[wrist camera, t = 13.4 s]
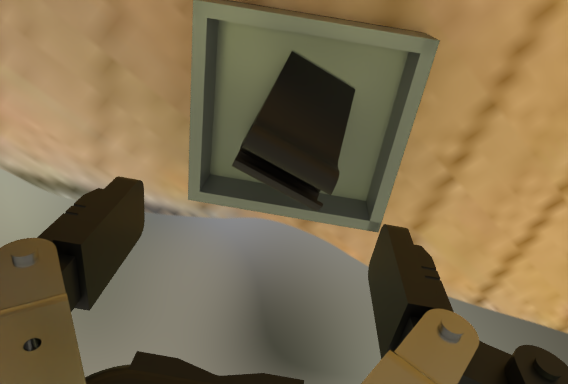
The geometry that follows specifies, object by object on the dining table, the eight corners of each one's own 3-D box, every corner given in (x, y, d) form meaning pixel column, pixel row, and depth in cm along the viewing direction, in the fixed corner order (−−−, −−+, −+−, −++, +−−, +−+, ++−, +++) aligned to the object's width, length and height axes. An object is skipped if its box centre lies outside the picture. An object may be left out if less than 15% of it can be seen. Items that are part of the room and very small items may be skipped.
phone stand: (299, 172, 36) (289, 252, 25) (242, 140, 35) (207, 209, 24) (355, 88, 32) (371, 141, 21) (292, 49, 31) (275, 85, 20)
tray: (202, 177, 38) (188, 199, 34) (210, -3, 30) (193, -1, 26) (372, 206, 38) (378, 232, 34) (424, 32, 30) (439, 40, 26)
